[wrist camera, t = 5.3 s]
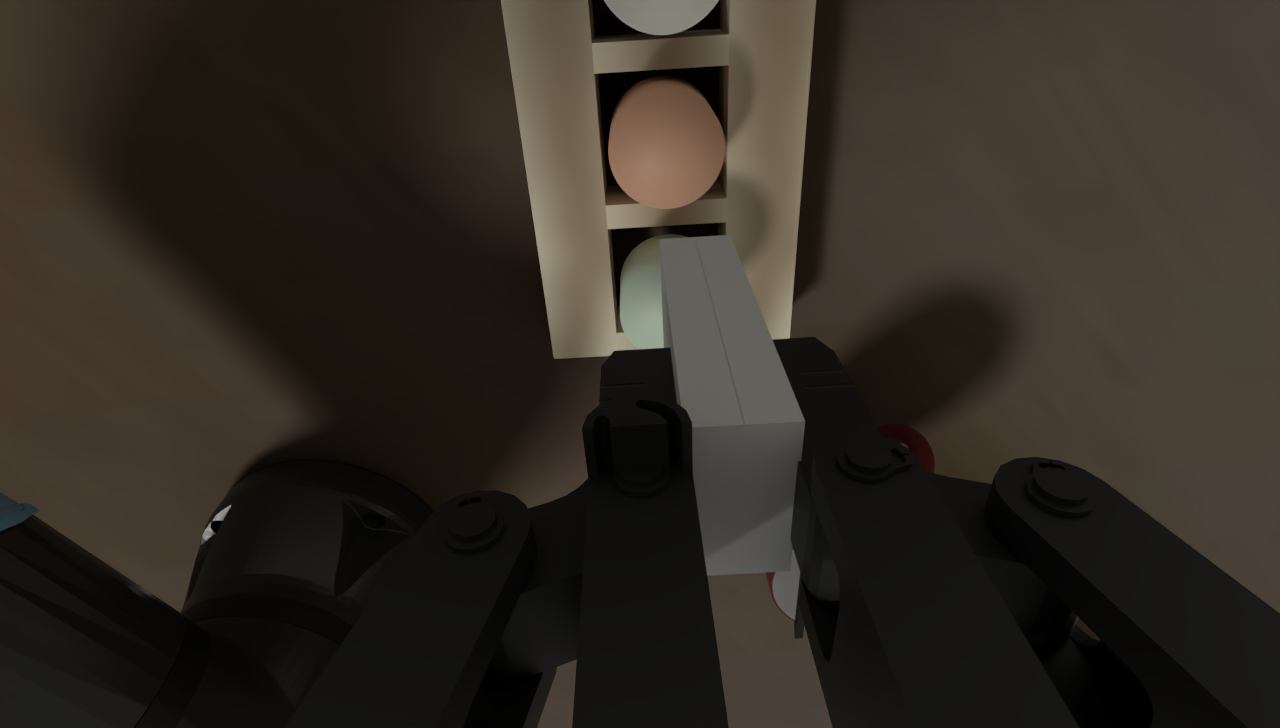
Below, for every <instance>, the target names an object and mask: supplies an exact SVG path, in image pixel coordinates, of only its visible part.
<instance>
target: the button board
mask: <svg viewBox="0 0 1280 728" xmlns="http://www.w3.org/2000/svg"><path fill="white" fill-rule="evenodd" d="M501 5H502V12H503V19H504V25H505V32H506V39H507V46H508V52H509V59H510V66H511V73H512V79H513V86H514V93H515V100H516V106H517V113H518V120H519V127H520V134H521V140H522V147H523V154H524V161H525V167H526V174H527V181H528V188H529V194H530V201H531V208H532V215H533V221H534V228H535V235H536V242H537V248H538V255H539V262H540V269H541V275H542V282H543V289H544V296H545V303H546V309H547V316H548V323H549V330H550V336H551V343H552V350H553V357H554V359H563V358H581V357H598V356H610V355H611V354H612V353H613V351H619V350H636V349H637V348H636V347H635V346H634V345H633V344H632V343H631V342H630V341H629V339H628V338H627V336H626V335H625V333H624V331H623V329H622V325H621V321H620V306H617V298H616V286H615V274H614V262H613V250H612V238H611V229H621V228H638V227H655V226H671V225H688V224H705V223H718V236H720V235H730V236H731V238H732V241H733V243H734V246H735V248H736V251H737V253H738V256H739V258H740V261H741V263H742V266H743V268H744V271H745V273H746V276H747V278H748V281H749V283H750V286H751V288H752V291H753V293H754V296H755V298H756V300H757V303H758V305H759V308H760V310H761V313H762V315H763V318H764V320H765V323H766V325H767V328H768V330H769V333H770V335H771V338H772V339H789V338H790V327H791V314H792V301H793V289H794V276H795V263H796V250H797V238H798V225H799V212H800V199H801V187H802V174H803V161H804V148H805V136H806V123H807V110H808V97H809V85H810V72H811V59H812V47H813V34H814V21H815V8H816V0H720V29H706V30H691V31H682V32H678V33H675V34H669V35H653V34H647V33H643V34H628V35H612V36H596V37H595V32H594V20H593V8H592V0H501ZM710 66H719V122H720V124H721V127H722V130H723V134H724V139H725V156H724V161H723V165H722V168H721V171H720V173H719V175H718V180H715V182H714V183H713V185H712V186H711V187H710V188H709V190H708V191H707V192H706V193H705V194H703V195H702V196H701V197H700V198H698V199H697V200H695V201H693V202H692V203H690V204H687V205H685V206H682V207H678V208H672V209H658V208H652V207H649V206H646V205H643V204H641V203H639V202H637V201H635V200H634V199H632V198H631V197H630V196H629V195H627V194H626V193H625V192H624V191H623V189H622V188H621V187H620V186H607V177H606V165H605V153H604V141H603V129H602V117H601V105H600V92H599V80H598V74H599V73H615V72H631V71H647V70H663V69H678V68H694V67H710Z"/></svg>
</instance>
